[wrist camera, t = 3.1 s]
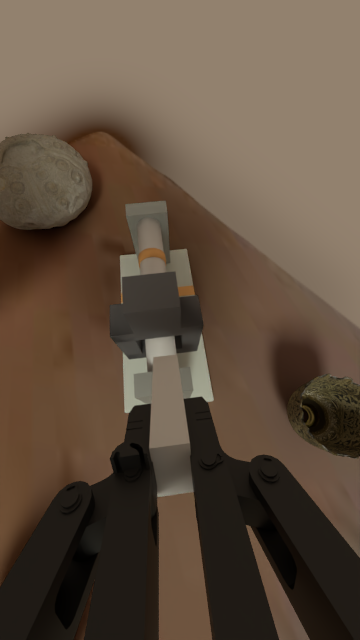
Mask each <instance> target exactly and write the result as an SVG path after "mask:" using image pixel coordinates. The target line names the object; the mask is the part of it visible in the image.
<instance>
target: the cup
mask: <svg viewBox="0 0 360 640" xmlns="http://www.w3.org/2000/svg"><path fill="white" fill-rule="evenodd" d="M302 409H304V410H306V412H307V413H308V420H307V421H306V422H304V421H303V411H302ZM287 413H288V418H289V421H290V423H291V425H292V427H293V429H294V430H295V432H296V433H297V434H298V435H299V436H300V437H301V438H303V439H304V440H305V441H307V442H308V443H310V444H312V445H314V446H316V447H318V448H320V449H322V450H325V451H327V452H330V453H332V454H333V455H336V456H337V455H339V456H343V457H344V456H347V457H351V458H356V459H358V458H359V457H358V456H360V385H359V384H356V383H353V380H352V379H351V378H349V377H344V378H336V377H335V376H333V377H331V374H325V375H322V376H318V377H315V378H314V379H313V380H311V381H309V382H307V383H306V384H304V385H302V386H301V387H299V388H298V389H297V390H296V391H295V392H294V393H293V394H292V395H291V397H290V399H289V401H288V406H287Z"/></svg>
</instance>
